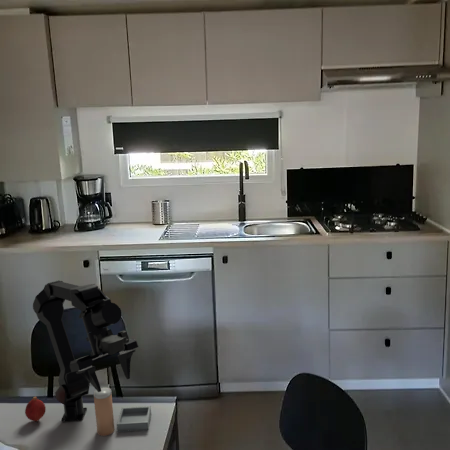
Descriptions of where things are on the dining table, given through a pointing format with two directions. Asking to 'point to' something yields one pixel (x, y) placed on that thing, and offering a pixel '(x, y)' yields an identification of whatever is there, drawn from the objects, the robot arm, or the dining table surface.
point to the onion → (35, 409)
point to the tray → (134, 419)
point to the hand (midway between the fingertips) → (114, 385)
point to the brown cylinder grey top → (104, 412)
